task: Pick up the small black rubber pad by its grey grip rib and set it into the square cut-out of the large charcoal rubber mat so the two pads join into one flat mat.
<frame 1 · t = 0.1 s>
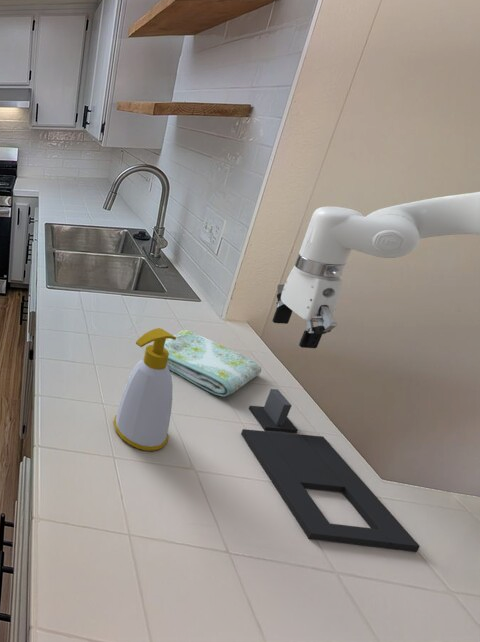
hand: (292, 334, 87), 19 cm above the worktop, tool pointing down, fingers open, 9 cm apart
towel: (201, 367, 106), on the worktop
big pad: (315, 484, 74), on the worktop
soap bottle: (139, 432, 86), on the worktop
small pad: (271, 420, 88), on the worktop
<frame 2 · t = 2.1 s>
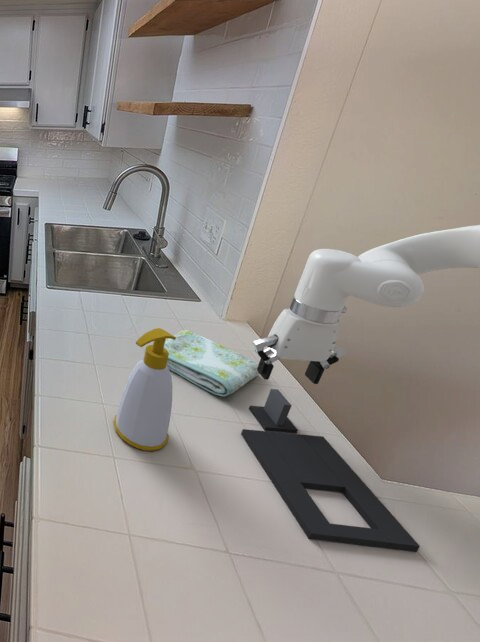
hand: (286, 377, 84), 12 cm above the worktop, tool pointing down, fingers open, 9 cm apart
nothing on the worktop moved.
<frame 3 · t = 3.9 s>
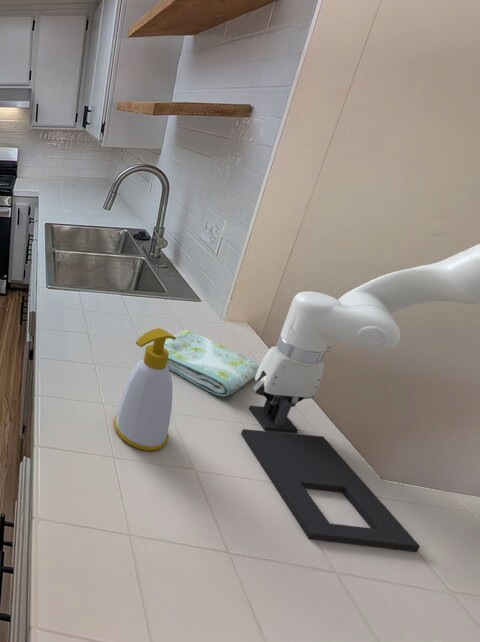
hand: (273, 415, 87), 2 cm above the worktop, tool pointing down, fingers closed on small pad
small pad: (271, 420, 88), on the worktop, touching gripper
everything else where it was.
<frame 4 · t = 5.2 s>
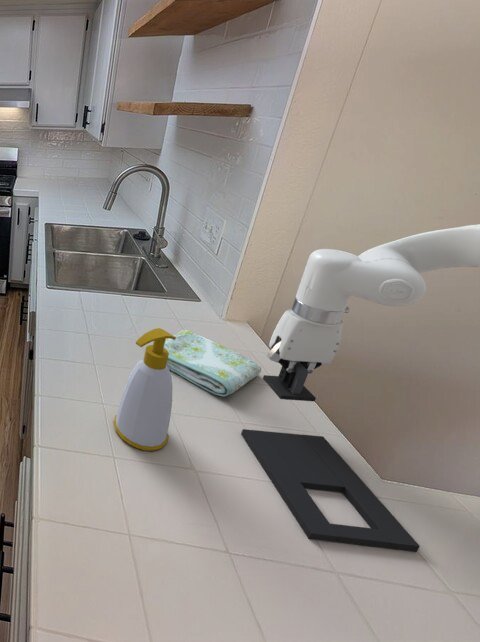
hand: (289, 383, 83), 11 cm above the worktop, tool pointing down, fingers closed on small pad
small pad: (287, 389, 84), point 9 cm above the worktop, touching gripper
everything else where it was.
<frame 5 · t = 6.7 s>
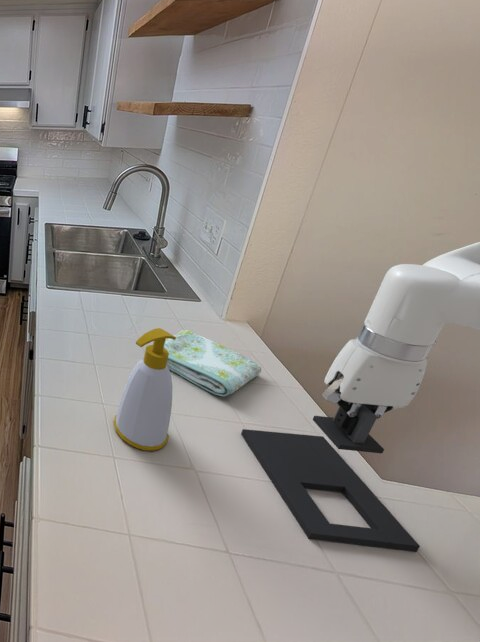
hand: (348, 429, 67), 15 cm above the worktop, tool pointing down, fingers closed on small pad
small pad: (345, 435, 68), point 13 cm above the worktop, touching gripper
everything else where it was.
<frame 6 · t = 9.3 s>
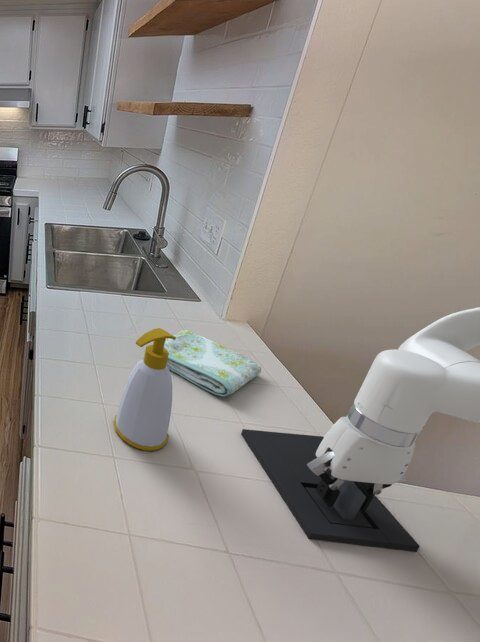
hand: (340, 499, 68), 3 cm above the worktop, tool pointing down, fingers open, 4 cm apart
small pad: (335, 509, 69), resting in big pad
everything else where it was.
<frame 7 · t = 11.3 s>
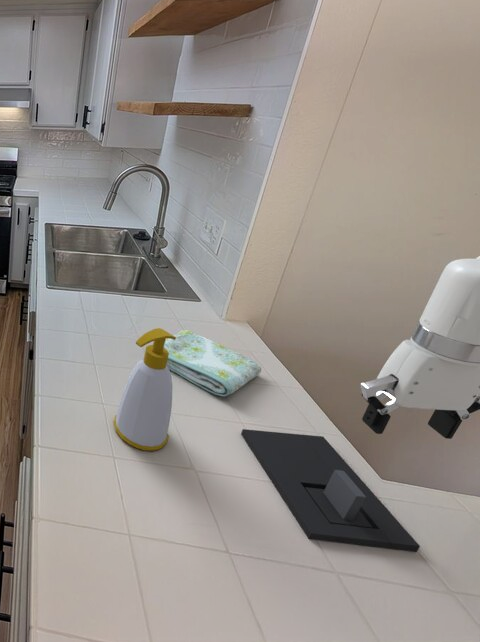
hand: (404, 429, 63), 18 cm above the worktop, tool pointing down, fingers open, 9 cm apart
nothing on the worktop moved.
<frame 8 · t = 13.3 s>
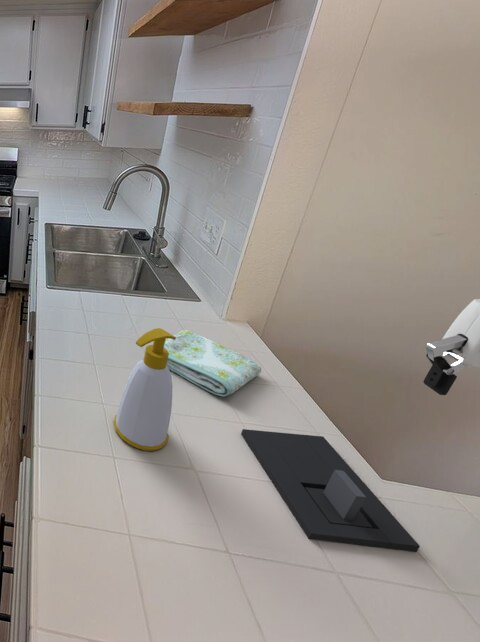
hand: (467, 391, 62), 24 cm above the worktop, tool pointing down, fingers open, 9 cm apart
nothing on the worktop moved.
at the end: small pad 0.1 cm from the target spot on the big pad, point 0.0 cm above the big pad's base; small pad tilted 0°; the gripper is holding nothing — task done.
